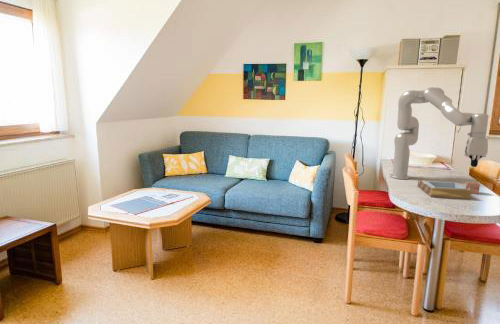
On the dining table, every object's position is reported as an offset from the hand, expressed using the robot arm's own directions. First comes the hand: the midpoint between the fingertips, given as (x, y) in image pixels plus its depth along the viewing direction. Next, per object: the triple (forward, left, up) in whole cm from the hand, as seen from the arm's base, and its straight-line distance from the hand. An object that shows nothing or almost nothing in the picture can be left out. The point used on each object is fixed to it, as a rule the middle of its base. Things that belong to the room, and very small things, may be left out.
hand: (473, 166), depth 189 cm
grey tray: (+7, -17, -14) cm, 23 cm away
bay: (+3, -17, -16) cm, 23 cm away
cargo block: (0, +1, -16) cm, 16 cm away
